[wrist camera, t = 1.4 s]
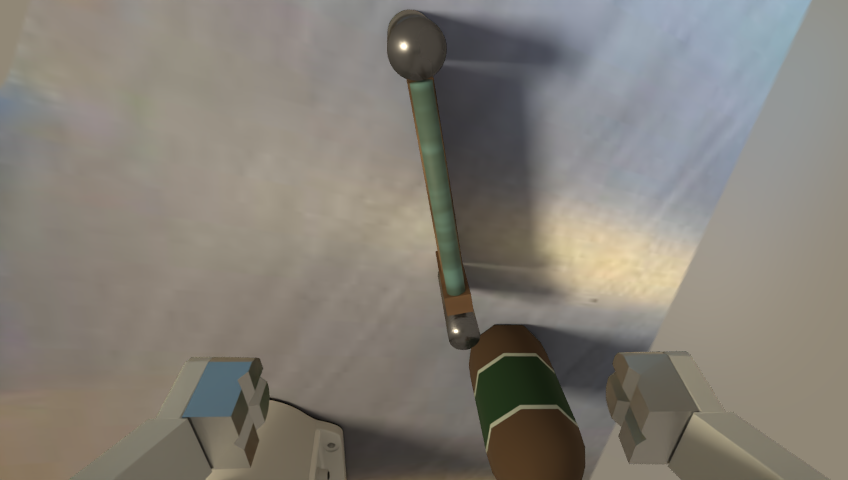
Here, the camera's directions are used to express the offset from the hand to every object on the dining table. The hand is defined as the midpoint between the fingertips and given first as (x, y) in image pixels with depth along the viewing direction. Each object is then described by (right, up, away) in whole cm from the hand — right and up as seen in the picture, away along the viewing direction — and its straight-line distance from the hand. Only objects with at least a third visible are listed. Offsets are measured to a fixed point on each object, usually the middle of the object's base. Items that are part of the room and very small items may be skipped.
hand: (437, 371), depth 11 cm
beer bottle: (+8, -8, +38) cm, 40 cm away
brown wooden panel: (+1, +8, +27) cm, 29 cm away
